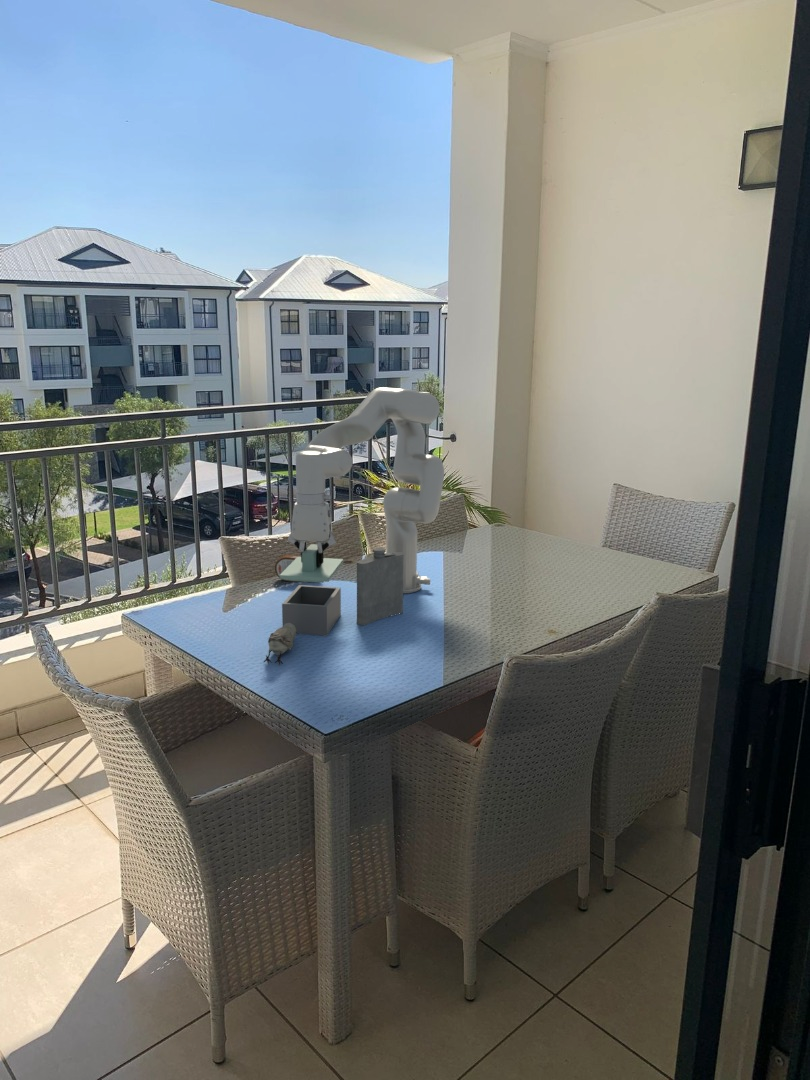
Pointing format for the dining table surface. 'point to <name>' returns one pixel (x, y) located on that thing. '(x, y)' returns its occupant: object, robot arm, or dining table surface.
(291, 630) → the decorative bird
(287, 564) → the tin
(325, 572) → the lid
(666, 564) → the dining table surface
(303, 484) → the robot arm
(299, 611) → the tub
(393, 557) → the hip flask
